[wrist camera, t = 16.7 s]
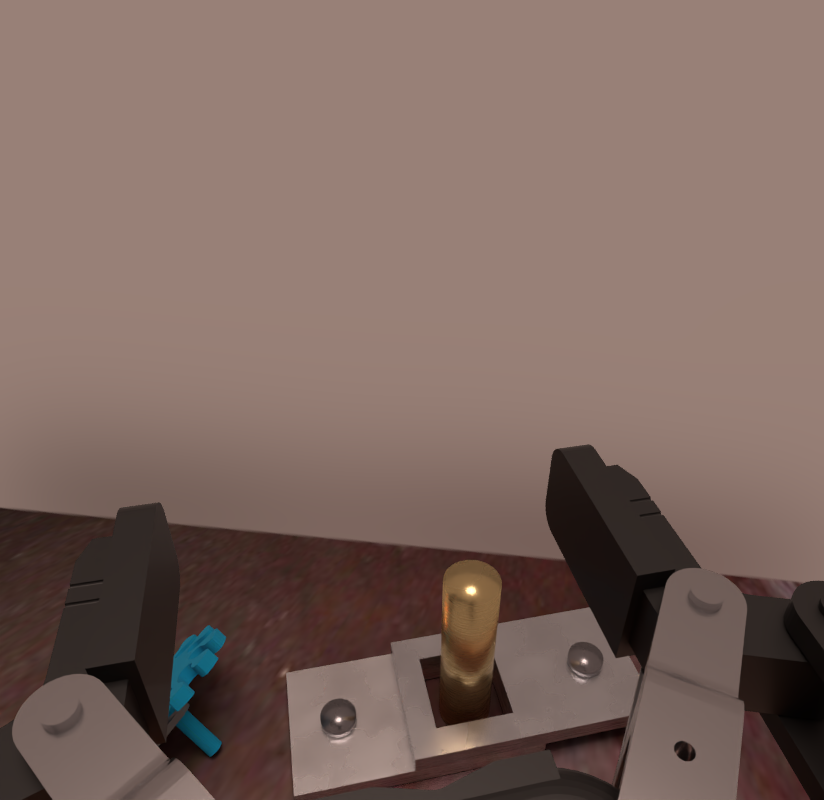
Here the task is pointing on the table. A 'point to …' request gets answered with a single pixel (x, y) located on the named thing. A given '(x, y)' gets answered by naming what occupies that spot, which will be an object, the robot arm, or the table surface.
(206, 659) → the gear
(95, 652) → the robot arm
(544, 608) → the table surface
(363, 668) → the bolted metal plate
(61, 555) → the table surface
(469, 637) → the brass pin
